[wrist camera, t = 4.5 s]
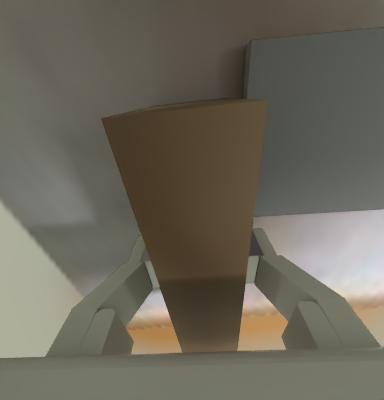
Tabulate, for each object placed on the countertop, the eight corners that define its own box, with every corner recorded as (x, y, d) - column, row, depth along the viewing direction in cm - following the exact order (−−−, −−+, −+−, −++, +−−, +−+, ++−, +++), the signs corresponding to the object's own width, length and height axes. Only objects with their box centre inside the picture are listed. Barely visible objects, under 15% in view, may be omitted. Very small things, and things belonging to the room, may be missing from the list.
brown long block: (223, 98, 7) (267, 99, 3) (223, 279, 13) (236, 357, 9) (152, 106, 7) (101, 118, 3) (186, 282, 13) (185, 359, 9)
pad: (630, 8, 5) (677, -2, 5) (459, 197, 9) (475, 203, 8) (246, 45, 6) (252, 39, 5) (234, 211, 9) (236, 217, 9)
